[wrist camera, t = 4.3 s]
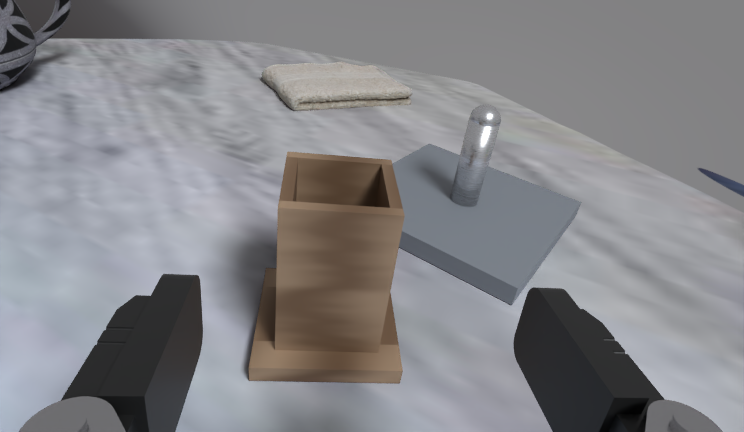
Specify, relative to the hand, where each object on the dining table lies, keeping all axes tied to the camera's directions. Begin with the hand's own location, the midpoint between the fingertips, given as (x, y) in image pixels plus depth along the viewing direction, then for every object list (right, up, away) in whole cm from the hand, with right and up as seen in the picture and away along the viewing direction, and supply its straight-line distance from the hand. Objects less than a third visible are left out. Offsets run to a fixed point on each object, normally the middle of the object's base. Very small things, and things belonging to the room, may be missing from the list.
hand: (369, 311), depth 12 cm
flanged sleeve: (-3, -4, +17) cm, 18 cm away
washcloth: (-5, +18, +54) cm, 57 cm away
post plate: (+8, +2, +30) cm, 31 cm away
